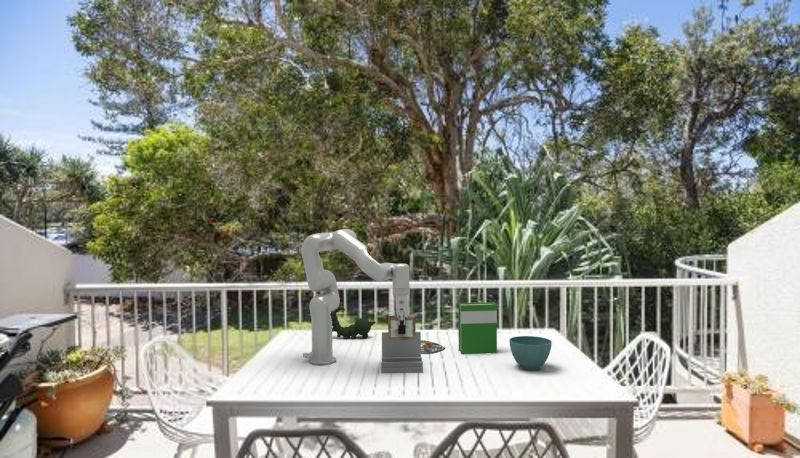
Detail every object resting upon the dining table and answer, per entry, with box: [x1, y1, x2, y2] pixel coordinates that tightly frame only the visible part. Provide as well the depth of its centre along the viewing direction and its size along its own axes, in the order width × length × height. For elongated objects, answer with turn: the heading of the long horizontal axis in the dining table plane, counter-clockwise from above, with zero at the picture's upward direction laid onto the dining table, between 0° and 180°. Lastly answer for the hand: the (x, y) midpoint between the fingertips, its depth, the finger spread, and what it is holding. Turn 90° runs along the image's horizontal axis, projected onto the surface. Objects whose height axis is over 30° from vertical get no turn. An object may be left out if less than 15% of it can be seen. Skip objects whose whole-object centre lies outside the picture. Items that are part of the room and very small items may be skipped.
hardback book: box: [457, 301, 498, 355], centre depth 273 cm, size 18×7×24 cm, turn 94°
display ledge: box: [380, 331, 424, 374], centre depth 247 cm, size 18×18×14 cm
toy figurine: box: [330, 306, 377, 340], centre depth 306 cm, size 9×19×25 cm
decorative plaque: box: [421, 339, 446, 355], centre depth 283 cm, size 30×3×30 cm
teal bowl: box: [508, 335, 553, 371], centre depth 244 cm, size 18×18×12 cm
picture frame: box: [387, 314, 417, 340], centre depth 244 cm, size 12×4×10 cm, turn 91°
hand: (401, 332), depth 244 cm, fingers closed on picture frame, 4 cm apart
